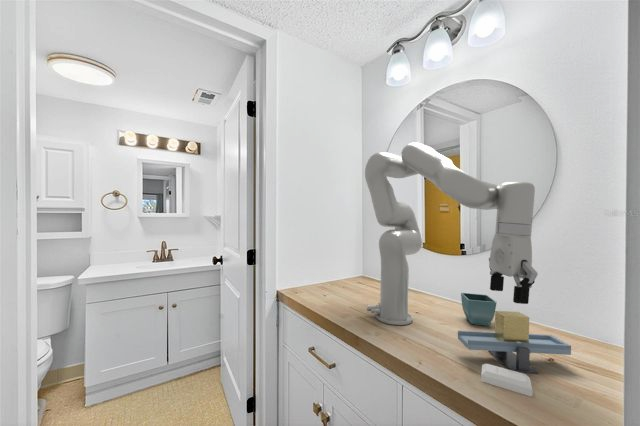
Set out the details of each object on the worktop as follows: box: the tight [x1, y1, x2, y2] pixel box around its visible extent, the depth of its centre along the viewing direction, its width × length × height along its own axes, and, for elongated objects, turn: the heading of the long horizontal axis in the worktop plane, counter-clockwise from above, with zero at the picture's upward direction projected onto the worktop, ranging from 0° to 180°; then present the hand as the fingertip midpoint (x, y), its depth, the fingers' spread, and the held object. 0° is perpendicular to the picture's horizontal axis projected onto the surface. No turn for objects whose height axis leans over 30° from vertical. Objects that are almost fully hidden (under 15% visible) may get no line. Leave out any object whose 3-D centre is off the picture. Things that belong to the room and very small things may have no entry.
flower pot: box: [460, 292, 497, 326], centre depth 95 cm, size 9×9×9 cm
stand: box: [487, 347, 539, 375], centre depth 69 cm, size 6×10×6 cm, turn 177°
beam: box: [457, 329, 572, 356], centre depth 69 cm, size 24×7×2 cm, turn 87°
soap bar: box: [480, 363, 533, 397], centre depth 60 cm, size 5×9×3 cm, turn 57°
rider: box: [494, 310, 530, 343], centre depth 69 cm, size 6×4×7 cm, turn 87°
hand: (507, 296), depth 70 cm, fingers open, 9 cm apart
